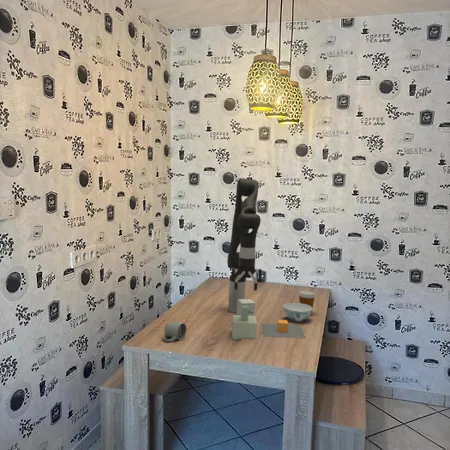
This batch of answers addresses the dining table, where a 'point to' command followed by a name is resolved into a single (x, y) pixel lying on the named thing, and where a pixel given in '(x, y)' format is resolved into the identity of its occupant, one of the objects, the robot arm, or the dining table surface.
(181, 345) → the dining table surface
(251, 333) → the sage cover
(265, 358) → the dining table surface
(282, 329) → the orange block
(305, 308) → the chinaware
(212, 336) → the dining table surface
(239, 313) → the supplement box
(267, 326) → the grey mat
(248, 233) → the robot arm
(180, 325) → the ceramic mug
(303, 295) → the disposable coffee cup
